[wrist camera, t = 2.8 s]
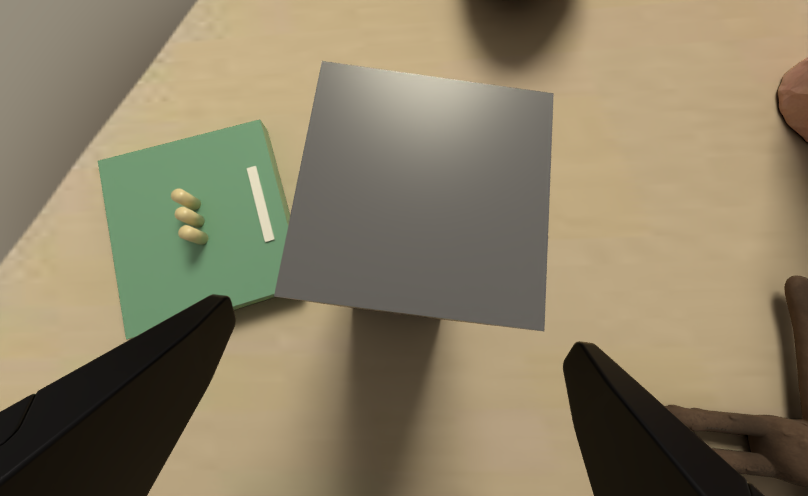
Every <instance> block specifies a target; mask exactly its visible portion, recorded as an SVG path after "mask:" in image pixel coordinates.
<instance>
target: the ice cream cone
mask: <svg viewBox="0 0 808 496" xmlns="http://www.w3.org/2000/svg"><path fill="white" fill-rule="evenodd" d="M778 97H779V109H780V112H781V113H782V115H783V116H784V119H785V121H786V123H787V124H788V125H789V126H790V127H791V128H792V129H794V130H795V131H796V132H797V133H799V134H800V135H801V136H802V137H803V138H804V139H805V141H807V142H808V58H806V59H804V60H803V61H801V62H799V63H798V64H797V65H795V66H794V67H793V68H791V69H790V70H789V71H788V72H786V73H785V74H784V76H783V78H782V82H781V84H780V86H779V88H778Z"/></svg>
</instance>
